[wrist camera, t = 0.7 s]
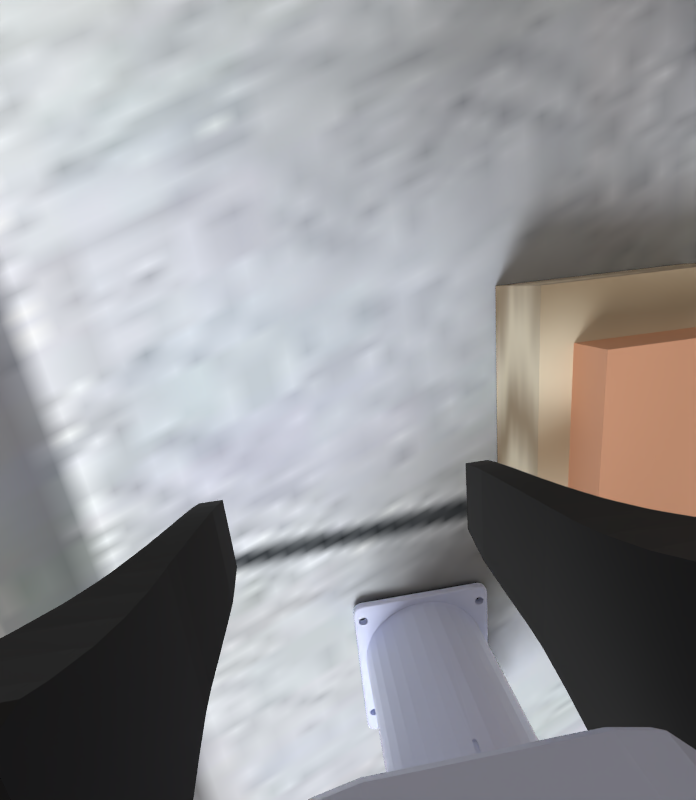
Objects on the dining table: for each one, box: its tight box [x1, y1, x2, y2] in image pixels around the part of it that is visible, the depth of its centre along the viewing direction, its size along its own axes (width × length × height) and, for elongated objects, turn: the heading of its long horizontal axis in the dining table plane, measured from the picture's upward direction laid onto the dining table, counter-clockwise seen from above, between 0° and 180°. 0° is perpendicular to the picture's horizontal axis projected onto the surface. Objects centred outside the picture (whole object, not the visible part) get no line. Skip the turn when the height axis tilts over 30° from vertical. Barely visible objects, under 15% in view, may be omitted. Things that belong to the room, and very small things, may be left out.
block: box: [568, 327, 696, 517], centre depth 18 cm, size 9×6×2 cm, turn 6°
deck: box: [496, 263, 696, 487], centre depth 21 cm, size 14×10×4 cm
